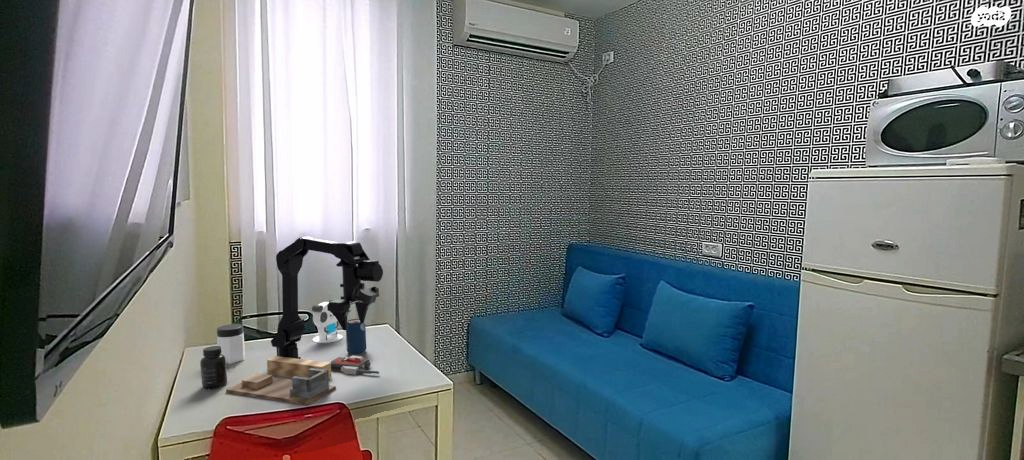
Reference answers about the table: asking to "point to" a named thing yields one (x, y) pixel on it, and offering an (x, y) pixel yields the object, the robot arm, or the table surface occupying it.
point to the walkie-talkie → (352, 365)
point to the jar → (231, 342)
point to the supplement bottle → (213, 368)
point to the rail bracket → (286, 387)
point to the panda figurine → (325, 324)
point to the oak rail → (294, 366)
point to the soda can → (356, 337)
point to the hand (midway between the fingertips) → (353, 326)
